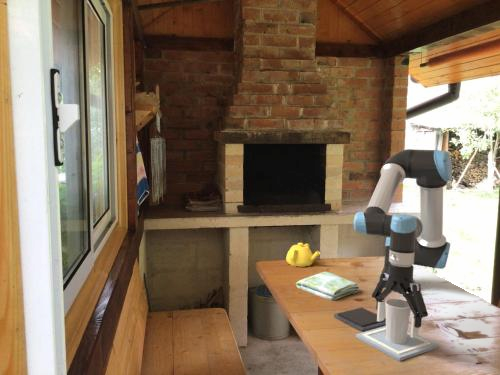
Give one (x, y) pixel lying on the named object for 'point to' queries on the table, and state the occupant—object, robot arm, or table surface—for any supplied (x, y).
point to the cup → (397, 320)
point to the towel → (327, 285)
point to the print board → (396, 350)
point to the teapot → (301, 255)
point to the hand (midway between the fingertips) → (396, 328)
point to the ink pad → (360, 319)
